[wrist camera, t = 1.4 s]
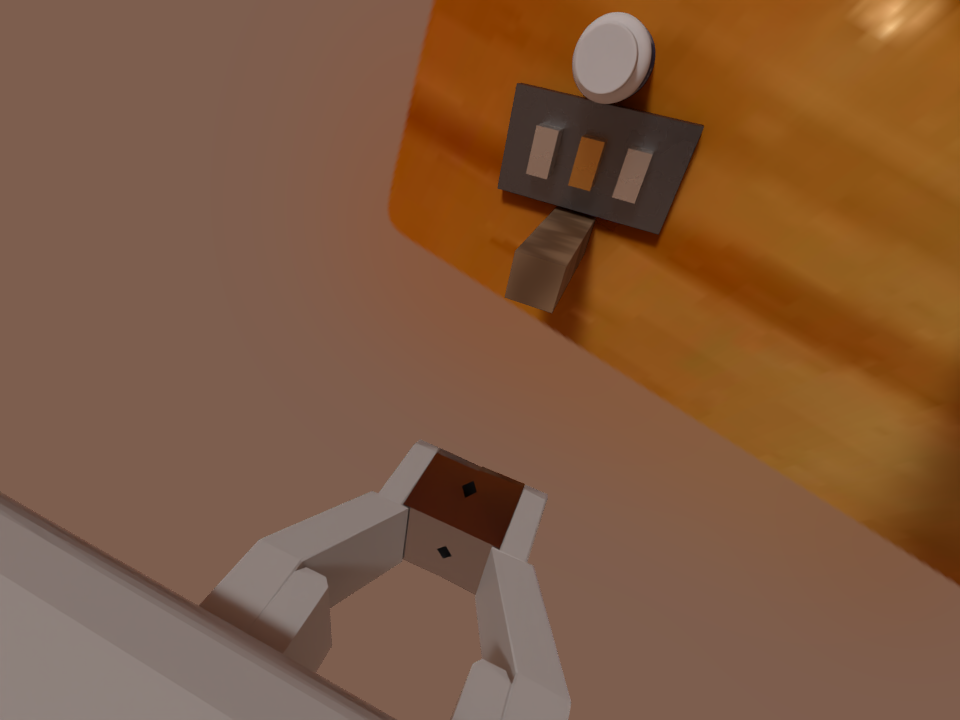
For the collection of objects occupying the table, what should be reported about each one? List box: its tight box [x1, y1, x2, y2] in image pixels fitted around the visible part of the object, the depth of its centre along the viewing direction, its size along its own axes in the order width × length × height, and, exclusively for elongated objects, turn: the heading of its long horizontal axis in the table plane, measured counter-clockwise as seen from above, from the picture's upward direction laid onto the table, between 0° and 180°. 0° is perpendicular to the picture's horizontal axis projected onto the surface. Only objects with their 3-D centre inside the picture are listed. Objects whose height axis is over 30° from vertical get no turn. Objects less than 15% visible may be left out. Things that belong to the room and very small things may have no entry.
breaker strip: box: [498, 83, 704, 234], centre depth 40 cm, size 16×9×4 cm, turn 79°
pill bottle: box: [572, 12, 655, 104], centre depth 33 cm, size 5×5×10 cm
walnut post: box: [505, 206, 596, 313], centre depth 40 cm, size 4×4×14 cm
